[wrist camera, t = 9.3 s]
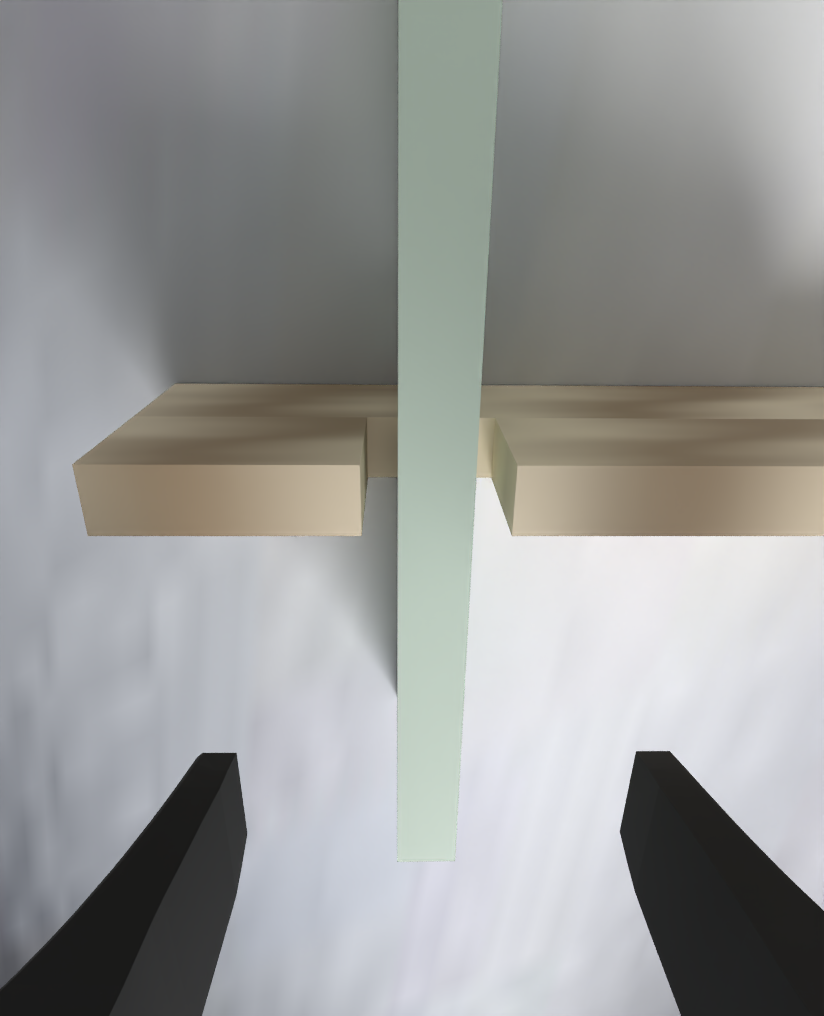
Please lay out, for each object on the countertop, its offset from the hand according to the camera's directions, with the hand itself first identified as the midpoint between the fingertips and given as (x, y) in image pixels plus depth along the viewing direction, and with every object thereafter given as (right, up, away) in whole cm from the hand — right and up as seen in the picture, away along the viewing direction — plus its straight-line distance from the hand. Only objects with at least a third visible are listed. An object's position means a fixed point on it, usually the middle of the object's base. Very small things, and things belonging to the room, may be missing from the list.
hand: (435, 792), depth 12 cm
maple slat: (+4, +7, +3) cm, 9 cm away
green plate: (0, +7, +3) cm, 8 cm away
